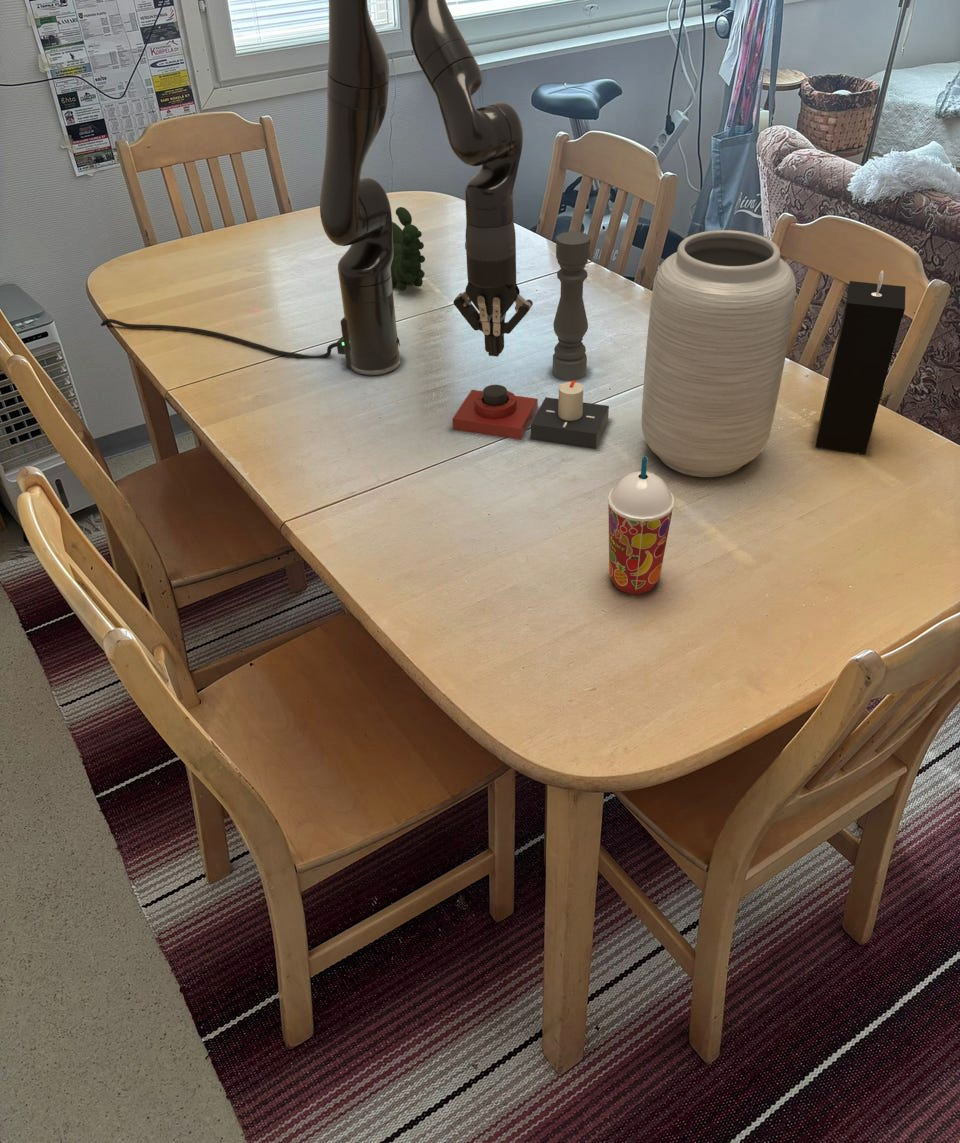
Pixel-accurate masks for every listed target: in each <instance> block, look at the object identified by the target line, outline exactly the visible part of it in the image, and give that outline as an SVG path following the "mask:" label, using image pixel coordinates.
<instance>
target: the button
mask: <svg viewBox="0 0 960 1143" xmlns="http://www.w3.org/2000/svg"><path fill="white" fill-rule="evenodd" d="M482 391H483V400H484V403H485V404H486V405H488V406H501V405H504V404H506V403H507V391H508V389H507V387H505V385H502V384H489V385H486V386H485V387H484V388H483V390H482Z"/></svg>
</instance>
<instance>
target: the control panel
mask: <svg viewBox="0 0 960 1143" xmlns="http://www.w3.org/2000/svg"><path fill="white" fill-rule="evenodd" d="M558 399H559V398H555V397H547V396H545V398H544V399H543V400H542V403H541V405H540V406H539V407H538V410H537V412H536V414H535V415H534V417H533V419H532V421H531V423H530V440H532V441H539V442H545V443H552V444H559V445H565V446H566V445H567V446H571V447H572V446H573V447H579V448H585V449H586V448H587V449H591V450H592V449H594V450H596V449H597V447H598V446H599V443H600V440H601V438H602V436H603V434H604V432H605V429H606V427H607V425H608V423H609V415H610V414H609V412H610V405H606V404H598V403H591V402H584V401H583V414H582V417H581V418H580V419H578V420H574V421H567V420H563V419H561V418H560V417H559V415H558Z"/></svg>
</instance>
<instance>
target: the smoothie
mask: <svg viewBox="0 0 960 1143" xmlns="http://www.w3.org/2000/svg"><path fill="white" fill-rule="evenodd" d="M640 466H641V468H640V470H638V471H634V472H633V471H632V472H630V473H628V474H626V475H625V476H623V477H621V478H620V479H619V481H618V482H617V483H616V484H615V486H614V487H613V488H612V489H611V490H610V491H609V493H608V496H607V502H608V504H607V505H608V507H607V508H608V510H607V511H608V562H609V563H608V574H609V577H610V579H611V580H612V582H613V585H614V586H615V587H616V588H617V589H618V590H620V591H621V592H624V593H627V594H631V595H638V594H639V595H641V594H644V593H647V592H649V591H651V590H652V589H653V588H654V586H655V585H656V584H657V583H658V582H659V580H660V577H661V572H662V568H663V562H664V556H665V551H666V546H667V541H668V537H669V532H670V531H669V530H670V526H671V520H672V515H673V509H674V507H675V501H676V500H675V498H674V495H673V493H672V492H671V491H670V488H669V487H668V484H667V483H666V481H664V480H663V479H662V477H660V476H659V475H657V474H656V473H653V472H651V471H647V468H648V456H642V457H641V465H640Z"/></svg>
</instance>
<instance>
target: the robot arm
mask: <svg viewBox="0 0 960 1143" xmlns="http://www.w3.org/2000/svg"><path fill="white" fill-rule="evenodd" d="M406 1H407V8H408V10H407V11H408V27H409V37H410V39H409V40H410V44H411V48H412V51H413V54H414V56H415V59H416V61H417V64H418V65H419V67H420V69H421V71H422V72H423V74H424V76H425V78H426V80H427V82H428V83H429V85H430V87H431V89H432V91H433V92H434V94H435V96H436V99H437V103H438V107H439V110H440V115H441V118H442V121H443V125H444V129H445V132H446V133H445V134H446V137H447V140H448V143H449V145H450V148H451V150H452V153H453V154H454V155H455V156H456V157H457V158H458V159H459V161H461V162H462V163H464V164H466V165H467V166H470V167H480V166H481V167H480V169H479V171H478V173H476V174H475V175H474V176H473V177H472V178H471V179H469V181H468V182H467V183H466V184H465V189H464V199H465V200H464V202H465V203H464V204H465V218H466V219H465V220H466V221H465V242H464V245H465V246H464V248H465V254H466V256H465V257H466V274H467V284H466V287H465V290H464V292H460V293H459V294H458V295H457V296H456V297H455V299H453V306H454V307H455V308H456V309H457V310H458V312H460V314H461V315H462V317H463V318H464V319H465V321H466V322H467V323H468V324H469V326H470V327H471V328H472V329H473V330H474V331H480V332H482V333H483V335H484V336H483V337H484V350H485V352H486V353H487V354H488V357H496V358H498V357H499V356H500V355H501V354H502V352H503V351H504V349H505V334H507V335H508V334H509V335H510V334H511V332H513V330H515V328H516V327H517V325H519V323H520V322H521V321H522V320H523V319H524V317H525V316H526V315H527V314H528V312H529V311H530V310H531V308H532V307H533V305H534V303H533V301H532V300H531V299H526V298H524V297H523V296H522V295H520V293H521V292H520V288H519V287H518V284H517V243H516V240H517V239H516V229H515V228H516V227H515V221H514V220H515V219H514V186H515V183H516V179H517V175H518V172H519V171H518V170H519V165H520V160H521V156H522V151H523V145H524V130H523V129H524V128H523V124H522V121H521V118H520V116H519V114H518V112H517V111H516V109H515V108H514V107H513V106H512V105H511V104H510V103H506V102H503V101H502V102H500V101H499V102H494V103H491V104H487V105H485V106H481V107H479V108H476V107H475V105H474V103H473V99H472V96H474V94H476V93H477V92H478V90H479V89H480V88H481V86H482V83H483V73H482V70H481V68H480V66H479V64H478V62H477V60H476V59H475V57H474V54H473V53H472V51H471V49H470V47H469V46H468V43H467V42H466V40H465V38H464V36H463V34H462V33H461V30H460V29H459V27H458V25H457V23H456V21H455V19H454V17H453V14H452V13H451V11H450V9H449V6H448V4H447V0H406ZM327 58H328V59H327V60H328V61H327V80H326V81H327V84H326V86H327V87H326V88H327V89H326V95H327V96H326V98H327V102H326V103H327V119H326V138H325V139H326V140H325V155H324V165H323V167H324V168H323V171H322V172H323V174H322V179H321V180H322V182H321V189H320V197H319V215H320V222H321V225H322V228H323V231H324V233H325V235H326V236H327V238H328V239H329V240H330V242H332V243H333V244H334V245H336V246H339V247H348V246H350V247H349V248H348V250H346V252H345V253H344V254H343V255H342V256H341V258H340V259H339V260H338V263H337V273H338V279H339V281H338V282H339V287H340V295H341V302H342V310H343V317H342V318H341V320H340V329H341V336H340V338H339V339H338V340H337V341H336V342H333V343H331V344H329V345H328V346H327V348H326V352H325V353H323V354H319V355H310V354H309V355H307V354H303V353H297V352H292V351H285V350H279V349H276V348H272V347H270V346H269V347H268V346H265V345H263V344H259V343H257V342H253V341H249V340H246V339H243V338H239V337H236V336H232V335H229V334H226V333H221V332H218V331H213V330H208V329H204V328H203V329H202V328H197V327H189V326H181V325H168V324H137V323H136V324H135V323H127V322H124V321H120V320H117V319H114V318H106V319H104V320H103V321H102V322H101V323H100V327H104V326H106V325H107V324H115V325H118V326H120V327H123V328H128V329H129V328H130V329H157V330H158V329H159V330H174V331H184V332H185V331H186V332H192V333H198V334H204V335H210V336H214V337H218V338H222V339H226V340H229V341H234V342H237V343H240V344H242V345H246V346H249V347H253V348H255V349H259V350H263V351H266V352H268V353H269V352H270V353H272V354H275V355H280V356H285V357H293V358H298V359H302V360H303V359H307V360H308V359H310V360H311V359H327V358H328V357H330V356H331V355H332V349H334V348H336V349H337V354H338V355H344V358H345V364H346V365H345V366H346V369H350V370H352V371H353V372H354V373H356V374H359V375H364V376H380V375H385V374H388V373H390V372H392V371H395V370H396V369H397V368H398V367H399V366H400V365H401V356H400V349H399V348H400V346H401V345H400V339H399V336H398V330H397V319H396V308H395V299H394V298H395V297H394V290H393V289H394V288H392V278H391V264H392V261H393V231H392V222H393V216H392V208H391V203H390V199H389V196H388V194H387V192H386V191H385V188H384V187H383V185H381V183H380V182H378V181H377V180H376V179H374V178H372V177H362V178H361V174H362V170H363V166H364V164H365V161H366V158H367V156H368V154H369V152H370V150H371V147H372V146H373V143H374V141H375V140H376V137H377V135H378V133H379V131H380V129H381V127H382V125H383V122H384V119H385V116H386V112H387V108H388V101H389V87H390V86H389V85H390V63H389V58H388V55H387V52H386V50H385V47H384V45H383V42H382V40H381V38H380V36H379V33H378V32H377V30H376V27H375V25H374V23H373V21H372V18H371V14H370V11H369V6H368V0H328V57H327ZM514 303H515V306H514V310H515V313H514V315H512V317H511V318H510V319H509V320H508V321H506V316H507V312H508V311H509V310H510V309H511V307H512V306H513V304H514Z"/></svg>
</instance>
